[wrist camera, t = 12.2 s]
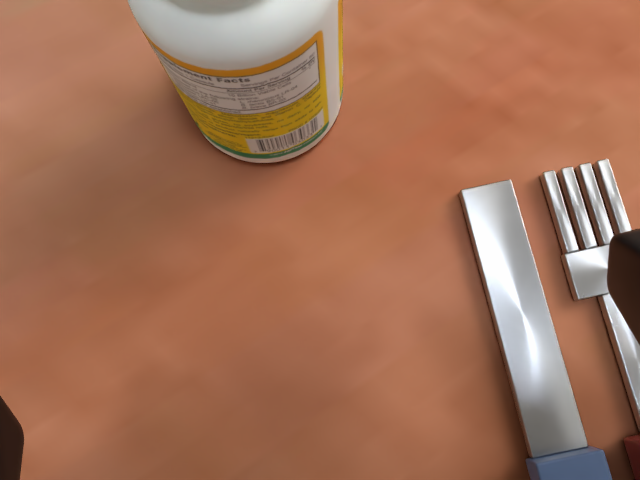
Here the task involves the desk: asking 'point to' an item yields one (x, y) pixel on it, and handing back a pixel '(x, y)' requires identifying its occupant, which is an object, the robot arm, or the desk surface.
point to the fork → (596, 263)
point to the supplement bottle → (252, 69)
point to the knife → (528, 339)
